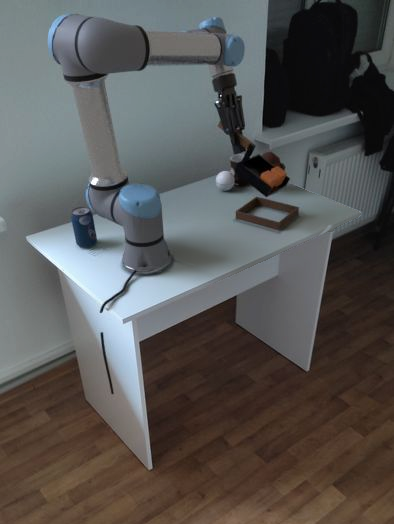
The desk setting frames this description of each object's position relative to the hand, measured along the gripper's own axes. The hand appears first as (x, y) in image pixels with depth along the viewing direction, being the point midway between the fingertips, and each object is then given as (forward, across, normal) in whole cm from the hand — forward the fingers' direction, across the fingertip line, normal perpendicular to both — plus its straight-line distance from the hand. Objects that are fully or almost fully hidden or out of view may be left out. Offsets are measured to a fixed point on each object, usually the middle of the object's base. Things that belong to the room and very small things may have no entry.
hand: (240, 152), depth 168 cm
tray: (+24, +4, -2) cm, 24 cm away
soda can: (+14, -43, +38) cm, 59 cm away
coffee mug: (+13, +26, +20) cm, 36 cm away
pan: (+5, 0, 0) cm, 5 cm away
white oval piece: (+14, +16, +20) cm, 30 cm away
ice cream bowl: (+18, +25, +7) cm, 32 cm away
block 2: (+12, +3, -8) cm, 15 cm away
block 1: (+12, -3, -8) cm, 15 cm away
